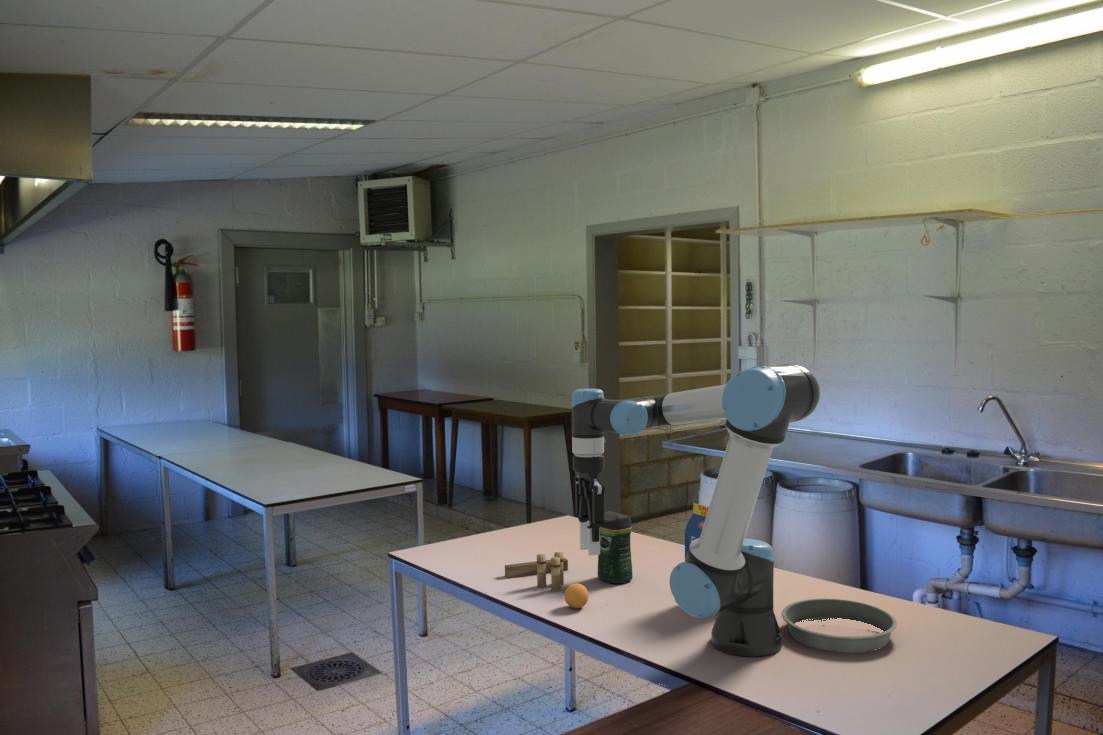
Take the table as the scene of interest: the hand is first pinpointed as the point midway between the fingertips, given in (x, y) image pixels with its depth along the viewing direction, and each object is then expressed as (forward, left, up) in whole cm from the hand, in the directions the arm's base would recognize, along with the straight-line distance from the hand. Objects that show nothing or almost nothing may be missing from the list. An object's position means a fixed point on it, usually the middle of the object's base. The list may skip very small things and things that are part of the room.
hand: (590, 551), depth 204 cm
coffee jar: (+27, -18, -17) cm, 36 cm away
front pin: (+25, 0, -17) cm, 30 cm away
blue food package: (-2, -31, -17) cm, 35 cm away
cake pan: (-29, -48, -17) cm, 59 cm away
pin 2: (+29, -2, -17) cm, 33 cm away
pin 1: (+29, +2, -17) cm, 33 cm away
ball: (+10, 0, -14) cm, 17 cm away
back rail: (+41, 0, -17) cm, 44 cm away
